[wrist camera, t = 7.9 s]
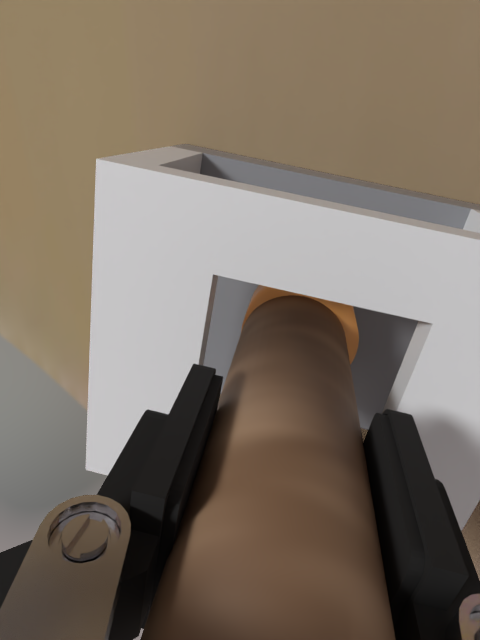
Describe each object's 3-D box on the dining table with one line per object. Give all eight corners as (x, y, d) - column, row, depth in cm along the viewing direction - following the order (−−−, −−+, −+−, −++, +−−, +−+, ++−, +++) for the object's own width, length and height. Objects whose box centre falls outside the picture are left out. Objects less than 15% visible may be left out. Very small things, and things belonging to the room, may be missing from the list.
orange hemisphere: (367, 279, 16) (374, 299, 14) (337, 371, 18) (340, 400, 16) (259, 255, 16) (252, 272, 14) (240, 349, 18) (232, 374, 16)
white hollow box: (485, 206, 17) (614, 268, 10) (398, 412, 21) (443, 562, 14) (185, 143, 18) (96, 159, 10) (160, 355, 22) (85, 469, 15)
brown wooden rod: (359, 308, 14) (755, 1804, 2) (330, 398, 16) (410, 1517, 3) (251, 284, 14) (-170, 1445, 2) (232, 375, 16) (-63, 1339, 3)
